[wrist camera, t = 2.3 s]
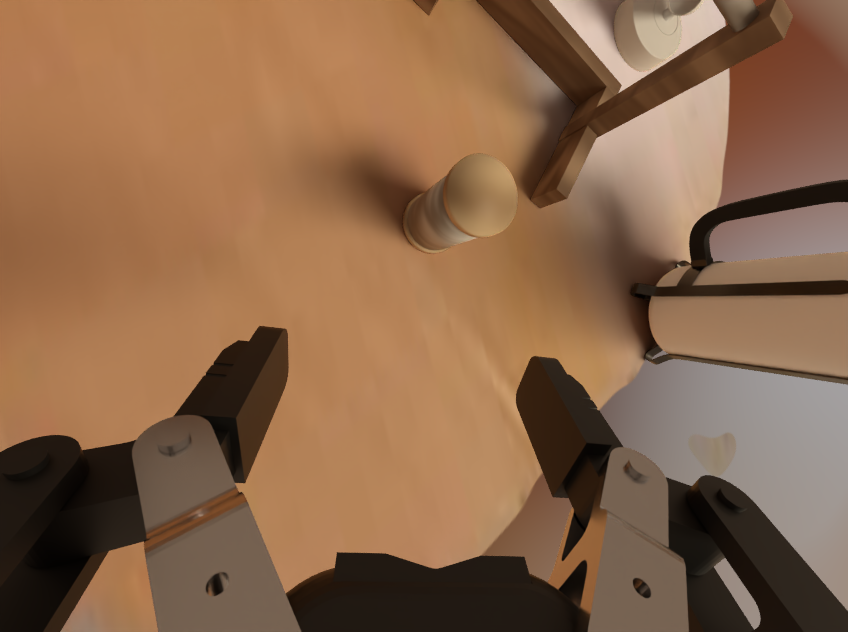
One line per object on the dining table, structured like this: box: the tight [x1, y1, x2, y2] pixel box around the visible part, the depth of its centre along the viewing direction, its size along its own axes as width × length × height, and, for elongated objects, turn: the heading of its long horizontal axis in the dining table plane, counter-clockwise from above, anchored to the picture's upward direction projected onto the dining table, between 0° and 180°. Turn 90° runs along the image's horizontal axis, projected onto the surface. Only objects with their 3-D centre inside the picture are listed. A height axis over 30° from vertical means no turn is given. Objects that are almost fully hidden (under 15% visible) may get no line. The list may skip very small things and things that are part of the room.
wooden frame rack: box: [414, 0, 793, 208], centre depth 27 cm, size 15×22×18 cm, turn 60°
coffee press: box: [631, 180, 848, 384], centre depth 33 cm, size 17×16×30 cm
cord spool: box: [403, 153, 518, 254], centre depth 29 cm, size 6×6×10 cm
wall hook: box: [614, 0, 704, 72], centre depth 38 cm, size 9×10×10 cm
